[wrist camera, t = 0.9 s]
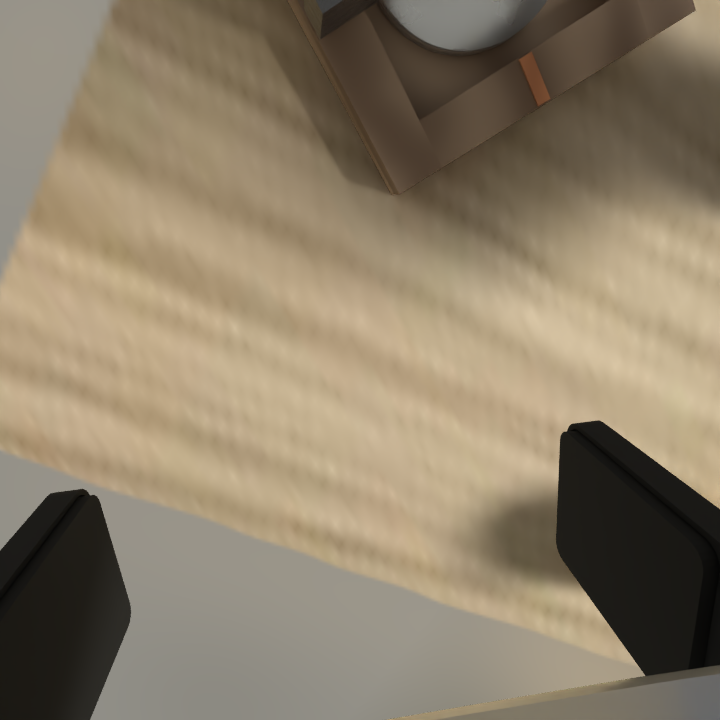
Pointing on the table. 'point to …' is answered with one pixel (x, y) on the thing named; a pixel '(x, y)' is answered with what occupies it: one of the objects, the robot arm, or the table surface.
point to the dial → (435, 20)
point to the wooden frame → (470, 77)
